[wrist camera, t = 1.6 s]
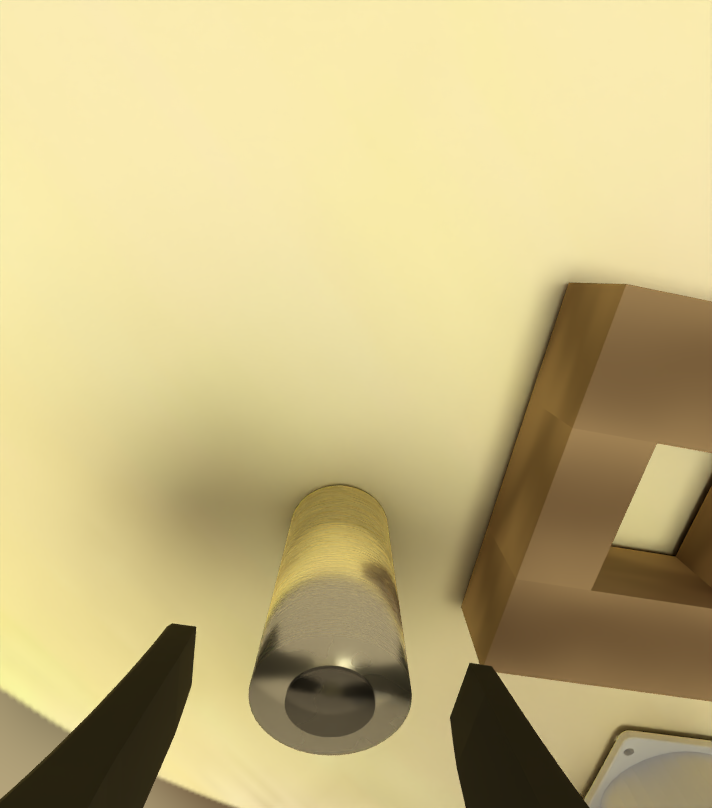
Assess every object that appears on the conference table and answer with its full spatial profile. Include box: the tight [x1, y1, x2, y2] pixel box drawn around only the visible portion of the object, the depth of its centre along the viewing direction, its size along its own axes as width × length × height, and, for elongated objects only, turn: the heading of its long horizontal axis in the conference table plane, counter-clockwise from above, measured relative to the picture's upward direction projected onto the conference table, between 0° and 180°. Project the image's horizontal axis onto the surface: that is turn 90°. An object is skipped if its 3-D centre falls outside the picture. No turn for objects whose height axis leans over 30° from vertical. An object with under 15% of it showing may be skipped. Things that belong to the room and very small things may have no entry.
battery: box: [249, 485, 412, 755], centre depth 13 cm, size 4×4×7 cm
